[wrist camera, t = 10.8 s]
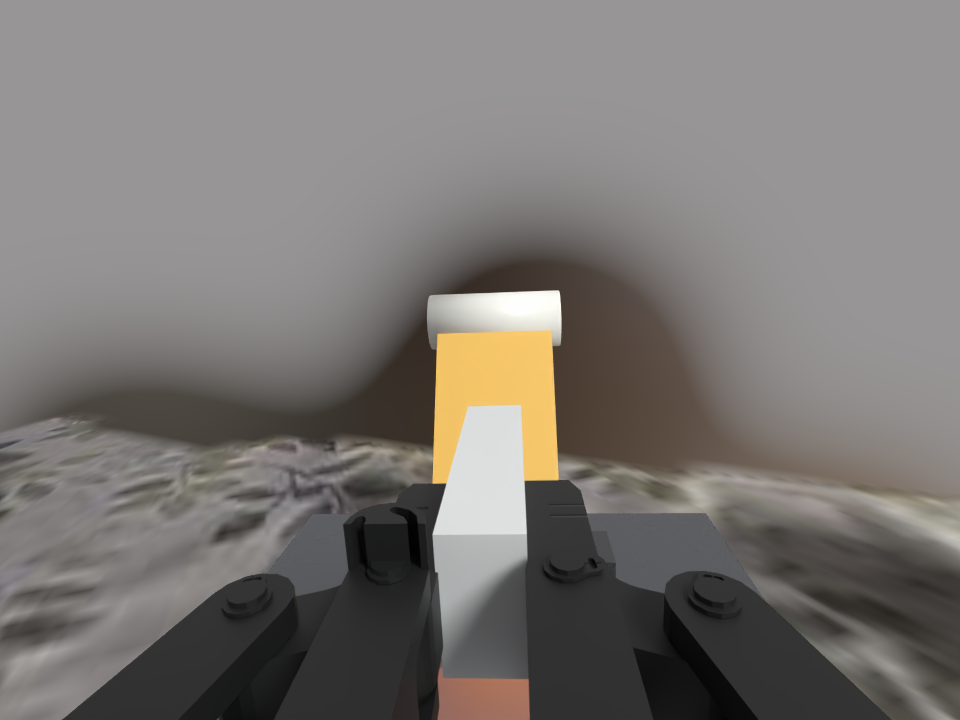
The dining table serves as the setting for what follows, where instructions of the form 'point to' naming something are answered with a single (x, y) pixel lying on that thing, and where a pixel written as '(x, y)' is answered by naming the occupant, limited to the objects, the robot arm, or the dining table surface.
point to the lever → (496, 369)
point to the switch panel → (625, 532)
